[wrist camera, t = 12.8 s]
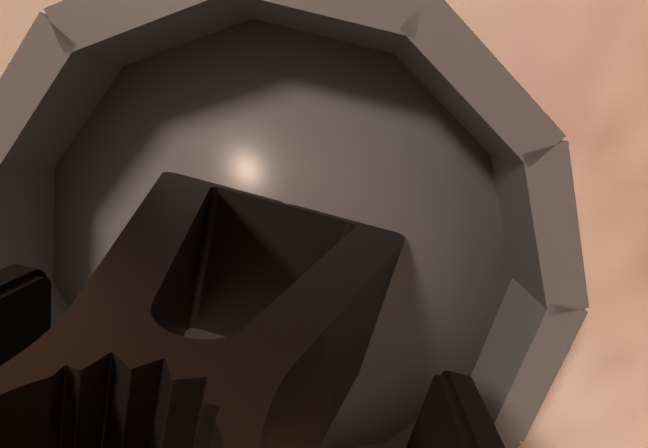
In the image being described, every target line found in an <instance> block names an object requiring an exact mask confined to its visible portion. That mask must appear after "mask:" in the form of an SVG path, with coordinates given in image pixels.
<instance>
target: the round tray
mask: <svg viewBox="0 0 648 448" xmlns="http://www.w3.org/2000/svg"><path fill="white" fill-rule="evenodd" d="M44 10H45V13H46V14H44V13H41V12H39V14H38V16H37V17H36V19H35V21H34V23H33V24H32V26H31V28H30V29H29V31H28V33H27V34H26V36H25V38H24V40H23V41H22V43H21V45H20V46H19V48H18V50H17V51H16V53H15V55H14V56H13V58H12V60H11V62H10V63H9V65H8V67H7V68H6V70H5V72H4V73H3V75H2V77H1V79H0V269H3V268H5V267H7V266H10V265H14V264H19V265H23V266H27V267H32V268H36V269H40V270H42V271H44V272H45V273H46V275H47V278H48V279H49V280H50V281H51V327H52V326H53V325H54V324H55V323H56V322H57V321H58V320H59V319H60V318H61V317H62V316H63V315H64V314H65V313H66V311H67V310H68V309H69V307H70V306H71V305H72V303H73V302H74V300H75V299H76V298H77V296H78V295H79V293H80V292H81V290H82V289H83V287H84V286H85V284H86V283H87V282H88V280H89V279H90V277H91V276H92V274H93V273H94V271H95V270H96V268H97V267H98V266H99V264H100V263H101V261H102V260H103V258H104V257H105V255H106V254H107V252H108V251H109V250H110V248H111V247H112V245H113V244H114V242H115V241H116V239H117V238H118V236H119V235H120V234H121V232H122V231H123V229H124V228H125V226H126V225H127V223H128V222H129V220H130V219H131V218H132V216H133V215H134V213H135V212H136V210H137V209H138V207H139V206H140V204H141V203H142V202H143V200H144V199H145V197H146V196H147V194H148V193H149V191H150V190H151V188H152V187H153V186H154V184H155V183H156V181H157V180H158V178H159V177H160V175H161V174H162V173H163V172H173V173H178V174H182V175H185V176H189V177H193V178H197V179H200V180H204V181H208V182H211V183H215V184H219V185H223V186H226V187H230V188H234V189H237V190H241V191H245V192H249V193H252V194H256V195H260V196H263V197H267V198H271V199H275V200H278V201H282V203H285V204H293V205H297V206H301V207H304V208H308V209H312V210H316V211H319V212H323V213H327V214H330V215H334V216H338V217H342V218H345V219H349V220H353V221H356V222H360V223H364V224H368V225H371V226H375V227H379V228H383V229H386V230H390V231H394V232H397V233H400V234H402V235H403V236H405V241H404V243H403V246H402V249H401V252H400V255H399V258H398V261H397V264H396V267H395V270H394V273H393V275H392V278H391V281H390V284H389V287H388V290H387V293H386V296H385V299H384V302H383V305H382V308H381V310H380V313H379V316H378V319H377V322H376V325H375V328H374V331H373V334H372V337H371V340H370V342H369V345H368V348H367V351H366V354H365V357H364V360H363V363H362V366H361V369H360V372H359V374H358V376H357V378H356V380H355V381H354V383H353V385H352V387H351V389H350V391H349V393H348V394H347V396H346V398H345V400H344V402H343V404H342V405H341V407H340V409H339V411H338V413H337V415H336V417H335V418H334V420H333V422H332V424H331V426H330V428H329V430H328V431H327V433H326V435H325V437H324V439H323V441H322V442H321V444H320V446H319V448H406V446H407V443H408V441H409V438H410V436H411V433H412V431H413V428H414V425H415V423H416V420H417V418H418V415H419V413H420V410H421V407H422V405H423V402H424V400H425V397H426V395H427V392H428V389H429V387H430V384H431V382H432V379H433V377H434V376H435V375H441V374H442V372H443V371H445V370H448V371H452V372H456V373H460V374H464V375H468V376H470V377H471V378H472V379H473V381H474V383H475V385H476V387H477V389H478V391H479V393H480V396H481V398H482V400H483V402H484V404H485V406H486V408H487V410H488V412H489V414H490V417H491V419H492V421H493V423H494V425H495V427H496V429H497V431H498V433H499V435H500V438H501V440H502V442H503V444H504V446H505V448H516V447H517V446H519V445H520V442H519V440H520V441H524V439H525V437H526V435H527V433H528V431H529V429H530V427H531V425H532V423H533V421H534V419H535V417H536V415H537V413H538V411H539V409H540V407H541V405H542V403H543V401H544V399H545V397H546V395H547V393H548V391H549V389H550V387H551V385H552V383H553V381H554V379H555V377H556V375H557V373H558V371H559V369H560V367H561V365H562V363H563V361H564V359H565V357H566V355H567V353H568V351H569V349H570V347H571V345H572V343H573V341H574V339H575V337H576V335H577V333H578V331H579V329H580V327H581V325H582V323H583V321H584V319H585V317H586V315H587V313H588V312H587V311H586V310H585V308H589V304H588V296H587V288H586V280H585V272H584V264H583V256H582V248H581V240H580V232H579V224H578V216H577V208H576V200H575V192H574V184H573V176H572V168H571V160H570V152H569V144H568V141H562V139H563V138H564V137H565V134H564V133H563V132H562V131H561V130H560V129H559V128H558V127H557V126H556V124H555V123H554V122H553V121H552V120H551V119H550V118H549V117H548V115H547V114H546V113H545V112H544V111H543V110H542V109H541V108H540V106H539V105H538V104H537V103H536V102H535V101H534V100H533V99H532V98H531V96H530V95H529V94H528V93H527V92H526V91H525V90H524V89H523V87H522V86H521V85H520V84H519V83H518V82H517V81H516V80H515V79H514V77H513V76H512V75H511V74H510V73H509V72H508V71H507V70H506V68H505V67H504V66H503V65H502V64H501V63H500V62H499V61H498V60H497V58H496V57H495V56H494V55H493V54H492V53H491V52H490V51H489V49H488V48H487V47H486V46H485V45H484V44H483V43H482V42H481V41H480V39H479V38H478V37H477V36H476V35H475V34H474V33H473V32H472V30H471V29H470V28H469V27H468V26H467V25H466V24H465V23H464V22H463V20H462V19H461V18H460V17H459V16H458V15H457V14H456V13H455V11H454V10H453V9H452V8H451V7H450V6H449V5H448V4H447V3H446V1H445V0H63V1H61V2H58V3H56V4H54V5H51V6H49V7H46V8H44ZM184 337H188V338H194V339H216V338H222V337H226V336H223V335H219V334H215V333H211V332H208V331H204V330H200V329H196V328H190V329H188V330H186V332H185V335H184Z"/></svg>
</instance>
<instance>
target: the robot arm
mask: <svg viewBox="0 0 648 448" xmlns="http://www.w3.org/2000/svg"><path fill="white" fill-rule="evenodd" d="M50 328H51V281H50V280H49V279H48V278H47V275H46V273H45V272H44V271H42V270H40V269H36V268H32V267H27V266H23V265H19V264H14V265H10V266H7V267H5V268H3V269H0V366H1V365H3V364H4V363H6V362H7V361H9V360H10V359H12V358H13V357H15V356H16V355H18V354H19V353H20V352H22V351H23V350H25V349H26V348H27V347H29V346H30V345H31V344H32V343H34V342H35V341H36V340H38V339H39V338H40V337H41V336H42V335H43V334H45V333H46V332H47V331H48V330H49V329H50ZM406 448H505V446H504V444H503V442H502V440H501V438H500V435H499V433H498V431H497V429H496V427H495V425H494V423H493V421H492V419H491V417H490V414H489V412H488V410H487V408H486V406H485V404H484V402H483V400H482V398H481V396H480V393H479V391H478V389H477V387H476V385H475V383H474V381H473V379H472V378H471V377H470V376H468V375H464V374H460V373H456V372H452V371H448V370H445V371H443V372H442V374H441V375H435V376H434V377H433V379H432V382H431V384H430V387H429V389H428V392H427V395H426V397H425V400H424V402H423V405H422V407H421V410H420V413H419V415H418V418H417V420H416V423H415V425H414V428H413V431H412V433H411V436H410V438H409V441H408V443H407V446H406Z"/></svg>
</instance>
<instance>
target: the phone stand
mask: <svg viewBox="0 0 648 448" xmlns="http://www.w3.org/2000/svg"><path fill="white" fill-rule="evenodd" d="M404 241H405V236H403V235H402V234H400V233H397V232H394V231H390V230H386V229H383V228H379V227H375V226H371V225H368V224H364V223H360V222H356V221H353V220H349V219H345V218H342V217H338V216H334V215H330V214H327V213H323V212H319V211H316V210H312V209H308V208H304V207H301V206H297V205H293V204H285V203H282V201H278V200H275V199H271V198H267V197H263V196H260V195H256V194H252V193H249V192H245V191H241V190H237V189H234V188H230V187H226V186H223V185H219V184H215V183H211V182H208V181H204V180H200V179H197V178H193V177H189V176H185V175H182V174H178V173H173V172H163V173H162V174H161V175H160V177H159V178H158V180H157V181H156V183H155V184H154V186H153V187H152V188H151V190H150V191H149V193H148V194H147V196H146V197H145V199H144V200H143V202H142V203H141V204H140V206H139V207H138V209H137V210H136V212H135V213H134V215H133V216H132V218H131V219H130V220H129V222H128V223H127V225H126V226H125V228H124V229H123V231H122V232H121V234H120V235H119V236H118V238H117V239H116V241H115V242H114V244H113V245H112V247H111V248H110V250H109V251H108V252H107V254H106V255H105V257H104V258H103V260H102V261H101V263H100V264H99V266H98V267H97V268H96V270H95V271H94V273H93V274H92V276H91V277H90V279H89V280H88V282H87V283H86V284H85V286H84V287H83V289H82V290H81V292H80V293H79V295H78V296H77V298H76V299H75V300H74V302H73V303H72V305H71V306H70V307H69V309H68V310H67V311H66V313H65V314H64V315H63V316H62V317H61V318H60V319H59V320H58V321H57V322H56V323H55V324H54V325H53V326H52V327H51V328H50V329H49V330H48V331H47V332H46V333H45V334H43V335H42V336H41V337H40V338H39V339H38V340H36V341H35V342H34V343H32V344H31V345H30V346H29V347H27V348H26V349H25V350H23V351H22V352H20V353H19V354H18V355H16V356H15V357H13V358H12V359H10V360H9V361H7V362H6V363H4V364H3V365H1V366H0V448H319V446H320V444H321V442H322V441H323V439H324V437H325V435H326V433H327V431H328V430H329V428H330V426H331V424H332V422H333V420H334V418H335V417H336V415H337V413H338V411H339V409H340V407H341V405H342V404H343V402H344V400H345V398H346V396H347V394H348V393H349V391H350V389H351V387H352V385H353V383H354V381H355V380H356V378H357V376H358V374H359V372H360V369H361V366H362V363H363V360H364V357H365V354H366V351H367V348H368V345H369V342H370V340H371V337H372V334H373V331H374V328H375V325H376V322H377V319H378V316H379V313H380V310H381V308H382V305H383V302H384V299H385V296H386V293H387V290H388V287H389V284H390V281H391V278H392V275H393V273H394V270H395V267H396V264H397V261H398V258H399V255H400V252H401V249H402V246H403V243H404ZM190 328H196V329H200V330H204V331H208V332H211V333H215V334H219V335H223V336H226V337H222V338H216V339H194V338H188V337H184V335H185V332H186V330H188V329H190Z"/></svg>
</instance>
